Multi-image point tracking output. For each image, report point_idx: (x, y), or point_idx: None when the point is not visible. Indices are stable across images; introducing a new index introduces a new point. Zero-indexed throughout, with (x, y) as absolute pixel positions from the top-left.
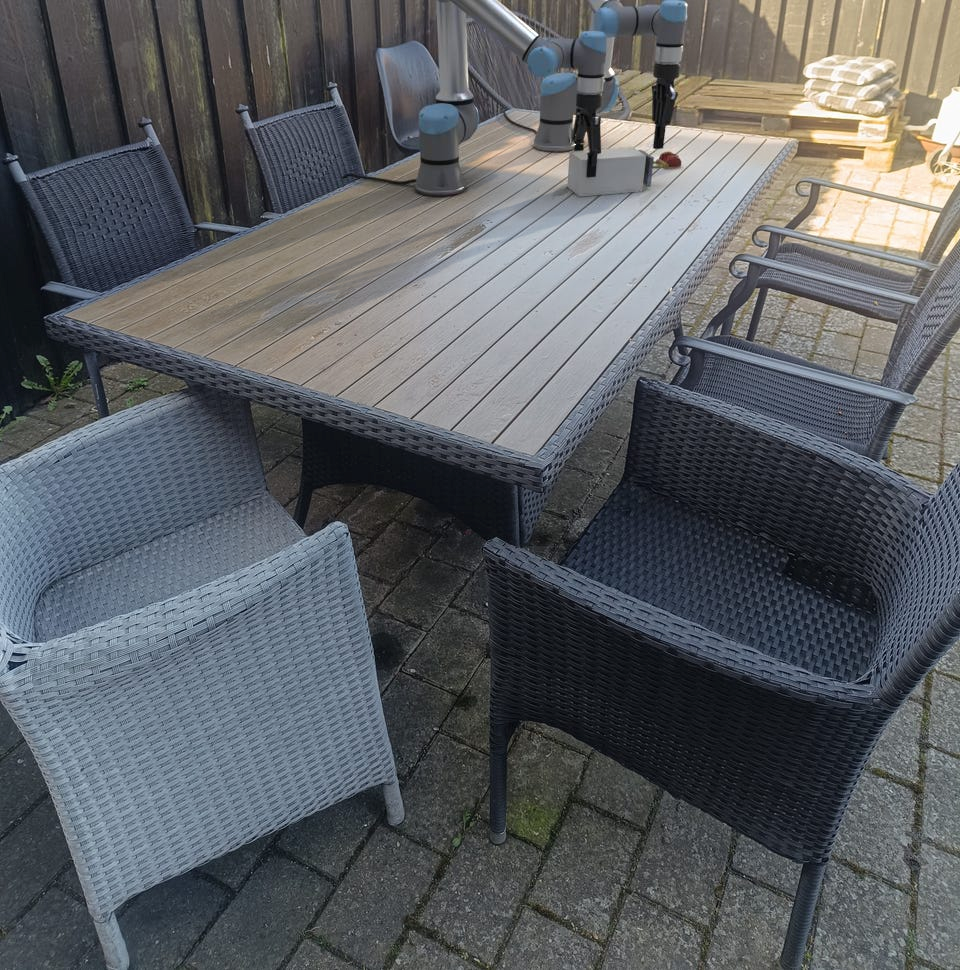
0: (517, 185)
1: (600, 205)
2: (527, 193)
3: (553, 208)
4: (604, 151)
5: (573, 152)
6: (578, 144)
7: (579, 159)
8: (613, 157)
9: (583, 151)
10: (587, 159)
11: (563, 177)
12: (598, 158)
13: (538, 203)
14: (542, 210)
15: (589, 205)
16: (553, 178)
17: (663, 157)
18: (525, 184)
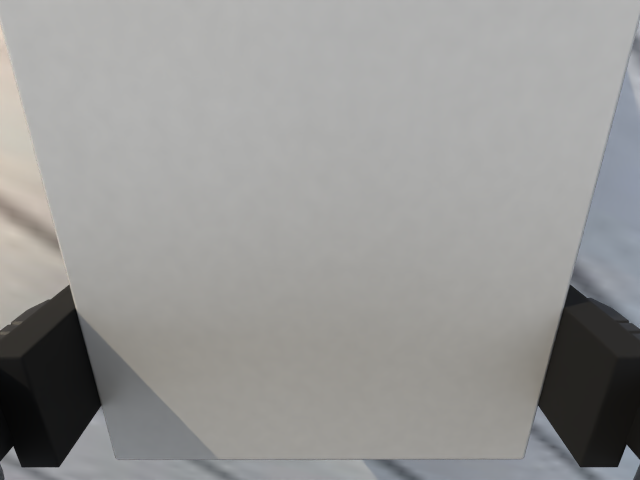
0: (152, 474)
1: (622, 215)
2: (286, 469)
3: (541, 435)
4: (187, 7)
5: (183, 444)
6: (10, 421)
7: (449, 451)
8: (624, 5)
9: (146, 330)
10: (528, 403)
11: (5, 231)
12: (552, 269)
13: (445, 467)
14: (543, 477)
15: (588, 273)
16: (29, 293)
17: None
18: None
